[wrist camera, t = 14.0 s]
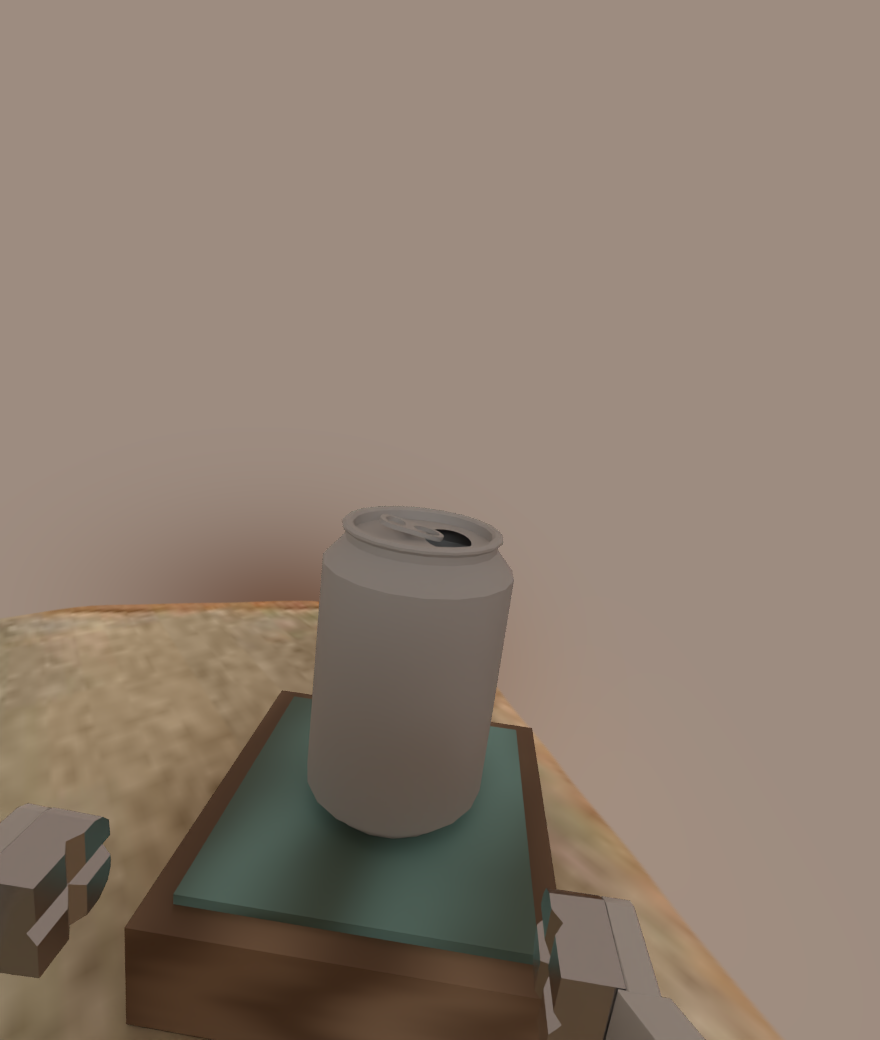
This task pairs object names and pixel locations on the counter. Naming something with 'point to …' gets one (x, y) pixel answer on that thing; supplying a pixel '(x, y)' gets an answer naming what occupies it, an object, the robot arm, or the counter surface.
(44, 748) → the counter surface
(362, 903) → the plinth
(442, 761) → the can
